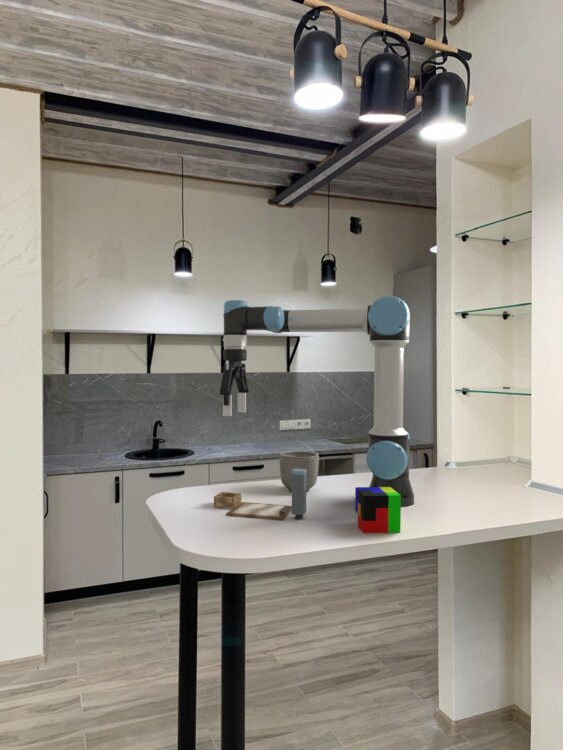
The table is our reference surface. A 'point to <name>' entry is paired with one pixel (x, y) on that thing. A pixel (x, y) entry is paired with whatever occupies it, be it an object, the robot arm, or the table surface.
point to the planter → (298, 467)
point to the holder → (227, 500)
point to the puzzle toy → (377, 509)
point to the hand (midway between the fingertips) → (234, 414)
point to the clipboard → (260, 511)
